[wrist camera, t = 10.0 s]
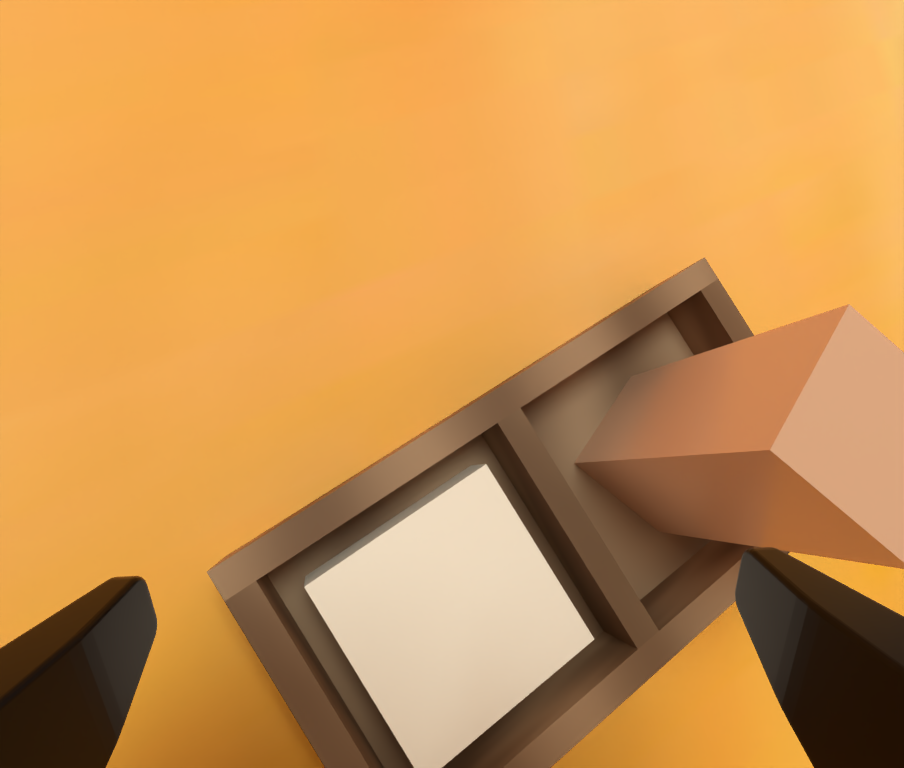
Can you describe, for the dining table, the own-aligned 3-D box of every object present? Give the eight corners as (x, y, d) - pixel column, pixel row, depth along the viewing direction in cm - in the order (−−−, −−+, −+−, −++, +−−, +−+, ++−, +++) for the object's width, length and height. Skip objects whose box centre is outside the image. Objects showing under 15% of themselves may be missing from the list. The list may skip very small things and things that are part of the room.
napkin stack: (569, 624, 21) (594, 639, 19) (412, 752, 19) (423, 783, 17) (471, 465, 21) (486, 464, 19) (305, 576, 19) (304, 586, 17)
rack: (657, 284, 25) (704, 257, 22) (788, 492, 25) (854, 493, 22) (224, 557, 19) (206, 571, 16) (390, 832, 19) (404, 899, 16)
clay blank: (659, 531, 23) (912, 570, 13) (573, 463, 22) (769, 450, 13) (711, 443, 24) (977, 418, 14) (630, 376, 23) (849, 304, 14)
